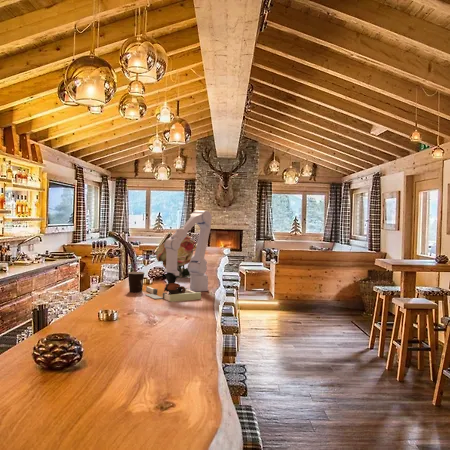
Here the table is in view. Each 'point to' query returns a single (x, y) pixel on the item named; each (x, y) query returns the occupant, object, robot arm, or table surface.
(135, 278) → the coffee mug
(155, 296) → the lane
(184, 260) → the rose bouquet
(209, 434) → the table surface
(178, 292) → the pottery mug
